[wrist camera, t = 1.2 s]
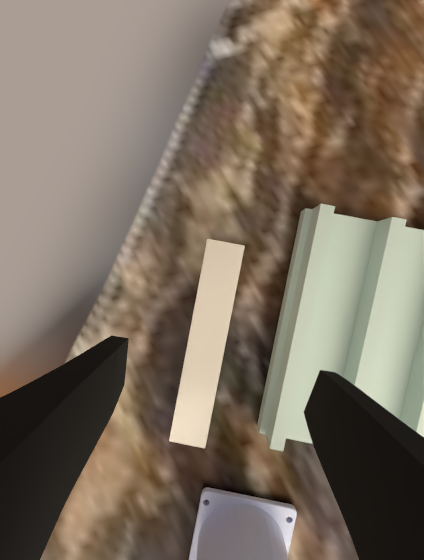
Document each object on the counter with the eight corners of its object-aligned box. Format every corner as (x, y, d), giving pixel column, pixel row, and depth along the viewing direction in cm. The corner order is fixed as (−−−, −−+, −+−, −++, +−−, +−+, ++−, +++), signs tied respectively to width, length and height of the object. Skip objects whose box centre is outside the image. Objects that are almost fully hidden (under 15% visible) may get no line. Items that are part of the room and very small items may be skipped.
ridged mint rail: (459, 465, 19) (495, 494, 17) (257, 424, 19) (263, 447, 17) (512, 250, 18) (558, 247, 16) (300, 211, 19) (313, 202, 16)
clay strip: (207, 412, 20) (205, 448, 16) (178, 406, 20) (169, 441, 16) (239, 251, 19) (244, 245, 15) (209, 245, 19) (207, 238, 15)
